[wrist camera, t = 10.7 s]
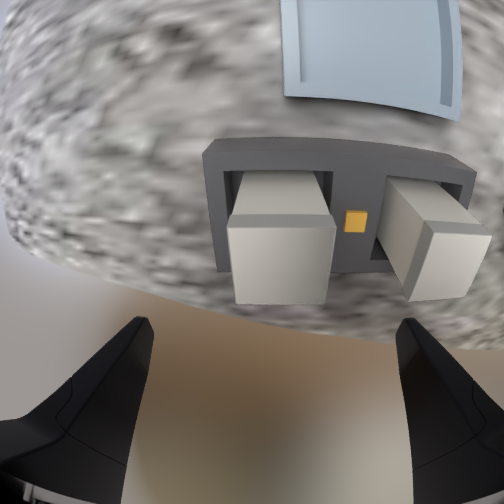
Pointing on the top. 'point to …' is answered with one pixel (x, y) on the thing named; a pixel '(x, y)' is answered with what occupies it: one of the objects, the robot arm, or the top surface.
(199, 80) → the top surface
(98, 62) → the top surface
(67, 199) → the top surface
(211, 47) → the top surface
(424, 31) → the tray
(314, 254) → the plug
